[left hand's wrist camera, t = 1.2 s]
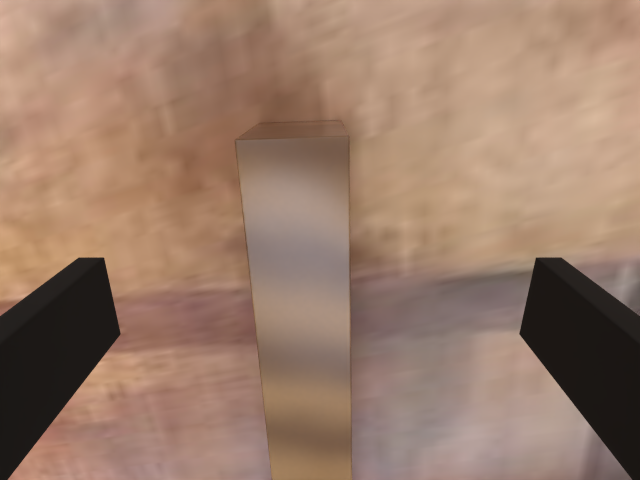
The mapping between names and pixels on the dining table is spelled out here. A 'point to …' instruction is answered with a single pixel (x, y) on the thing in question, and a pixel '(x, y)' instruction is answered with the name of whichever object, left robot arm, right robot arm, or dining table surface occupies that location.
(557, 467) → the dining table surface
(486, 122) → the dining table surface
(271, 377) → the bar
